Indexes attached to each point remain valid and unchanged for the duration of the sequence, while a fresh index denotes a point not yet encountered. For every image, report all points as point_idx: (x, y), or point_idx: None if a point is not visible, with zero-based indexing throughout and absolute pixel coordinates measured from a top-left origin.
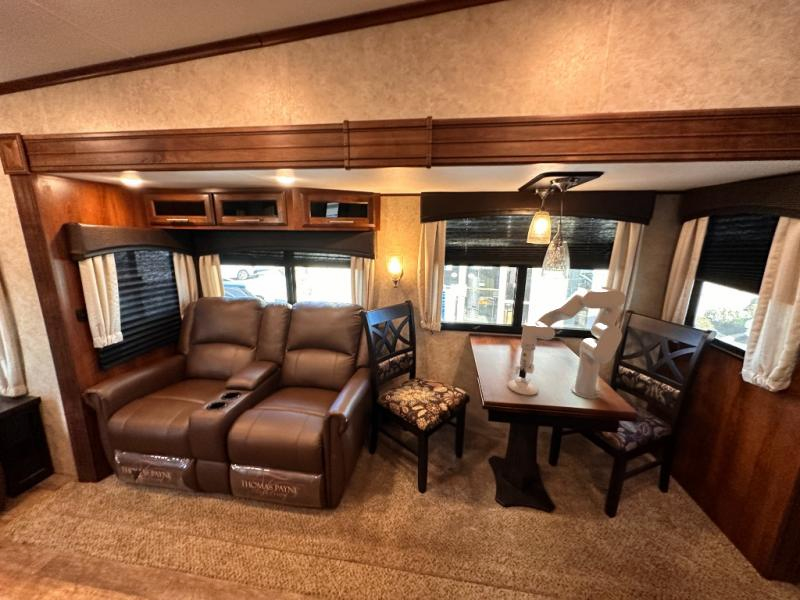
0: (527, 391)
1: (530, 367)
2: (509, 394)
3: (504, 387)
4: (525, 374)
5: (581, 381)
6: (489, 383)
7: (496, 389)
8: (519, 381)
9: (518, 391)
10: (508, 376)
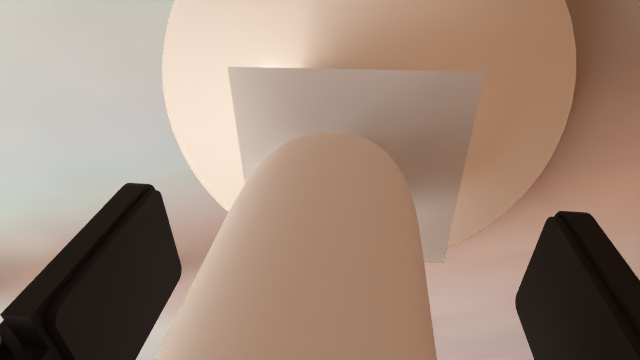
0: (493, 28)
1: (59, 268)
2: (606, 191)
3: (452, 256)
4: (637, 287)
5: None
6: (447, 350)
7: None
8: (444, 208)
9: (559, 133)
10: (184, 268)
